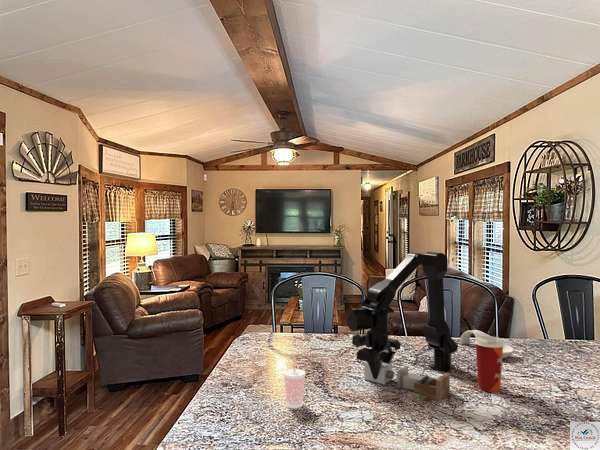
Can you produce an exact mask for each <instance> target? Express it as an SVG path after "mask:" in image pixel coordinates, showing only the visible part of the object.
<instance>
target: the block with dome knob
mask: <svg viewBox="0 0 600 450" xmlns="http://www.w3.org/2000/svg"><path fill="white" fill-rule="evenodd" d="M363 364H364V366H363V367H364V371H363V372H364V373H363V374H364V376H363V377H364V379H363V380H366V381H370V382H374V383H378V384H382V385H386V384H387V383H389V382H390V381H392V380H393V379H394V377H395V372H394V370H392V369H393V367H392V366H393V365H392V363H390V364H389V363H385V362H382V364H381V367H380V371H379V374H378V377H377V379H374V378H373V376H372V373H371V370H370V367H369V364H368V362H367V361H366V362H364V363H363Z"/></svg>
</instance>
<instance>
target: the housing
mask: <svg viewBox="0 0 600 450" xmlns="http://www.w3.org/2000/svg"><path fill="white" fill-rule="evenodd" d="M423 376H424V377H425V376H426V375H423ZM450 377H451V375H450V373H448V372H445V373H444V374H442V375H440V377H438V378H435V377H431V376H429V378H433V386H432V385H427V384H420V383H419V382H415V383H414V390H413V392H408V393H407V397H409V398H413V399H416V400H422V401H426V402H430V401H431V400H432V399H433V400H437V401H442V400H443V399H444V398H446V396H447V395H448V394H450V387H451V386H450V385H451V384H450V383H451V382H450Z"/></svg>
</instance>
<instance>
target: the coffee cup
mask: <svg viewBox="0 0 600 450" xmlns="http://www.w3.org/2000/svg"><path fill="white" fill-rule="evenodd" d="M474 344H475V353H476V369H477V373H476V374H477V383H478V386H477V387H478V389H479V388H480V389H479V390H481V391H483V392H486V391H487V393H498V391H499V392H500V391H501V385H502V384H501V381H502V369H503V367H502V366H503V358H502V355H503V346H504V341H503V339H502V338H500V337H497V336H491V335H489V336H479V337H477V338H476V337H475V341H474Z"/></svg>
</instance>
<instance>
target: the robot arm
mask: <svg viewBox="0 0 600 450" xmlns="http://www.w3.org/2000/svg"><path fill="white" fill-rule="evenodd" d="M448 261H449V259H448V256H447V255H446V254H445V253H443V252H435V251H434V252H433V251H426V252H425V253H424V254H423V253H421V252H409V253H408V254H406V257H405V258H404V259H403V260H402V261H401V262H400V263H399V265H397V266H396V267H395V268H394V269H393V270H392V272H390V273H389V274H388V276H387V277H386V278H384V279H383V280H382V281H379V282H377V283H375V284H373V285H372V286H371V287H370V288H369V289H368V290H367V292H366V296H365V298H364V299H363V301H362V303H361V304H360V306H359V307H358V308H354V307H353V308H351V309H350V312H349V313H348V316H347V317H346V323H347V326H348V327H347V328H348V329H349V330H350V331H351V332H358V331H364V330H367V331H366V333H364V334H359V333H357V334H354V335H352V337H351V339H352V340H351V344H352V345H353V346H355V348H359V347H363V346H365V347H363V348H361V349H359V350H358V351H356V352H355V353H356V360H358V361H362V362H363V361H364V362H366V363H367V362H368V364H369V367H370V370H371V373H372V376H373V378H374V379H377V377H378V374H379V371H380V367H381V364H382V362H385V363H389V364H391V362H392V361H393V358H394V357H395V355H396V353H397V352H396V351H399V350H401V342H400V341H399V340H398V339H395V338H391V337H389V335H391V334H392V333H391V331H392V330H391V329H389V314H391V313H392V314H393V313H394V312H395V310H394V309H393V308H392V307H391V306H390V305H391V303H392V302H393V300H394V299H395V297H396V294H397V291H398V289H399V288H400V287H401V286H402V285H403V284H404V283H405V281H407V279H408V278H409V277H410V276H411V275H413V273H414V272H415V271H416V269H417V268H419V266H422V271H423V273H424V274H425V276H426V278H427V288H428V289H427V290H428V312H429V321H428V322H427V324H424V325H423V337H424V339H425V341H426V342H427V345H428V347H429V348H431V349H433V363H432V364H430V367H429V368H431V369H436V370H440V371H445V372H450V371H451V370H452V369H454V368H455V367H456V365H455V364H452V354H455V353H457V352H458V351H457V350H458V347H459V346H458V344H457V343H456V341H454V339H453V338H452V332H451V329H450V327H449V325H448V323H447V321H446V319H445V318H446V315H445V313H446V312H445V297H444V296H445V295H444V292H445V291H444V278H445V275H446V273H447V272H448V265H449V262H448ZM392 348H394V350H395V351H393V349H392Z"/></svg>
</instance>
